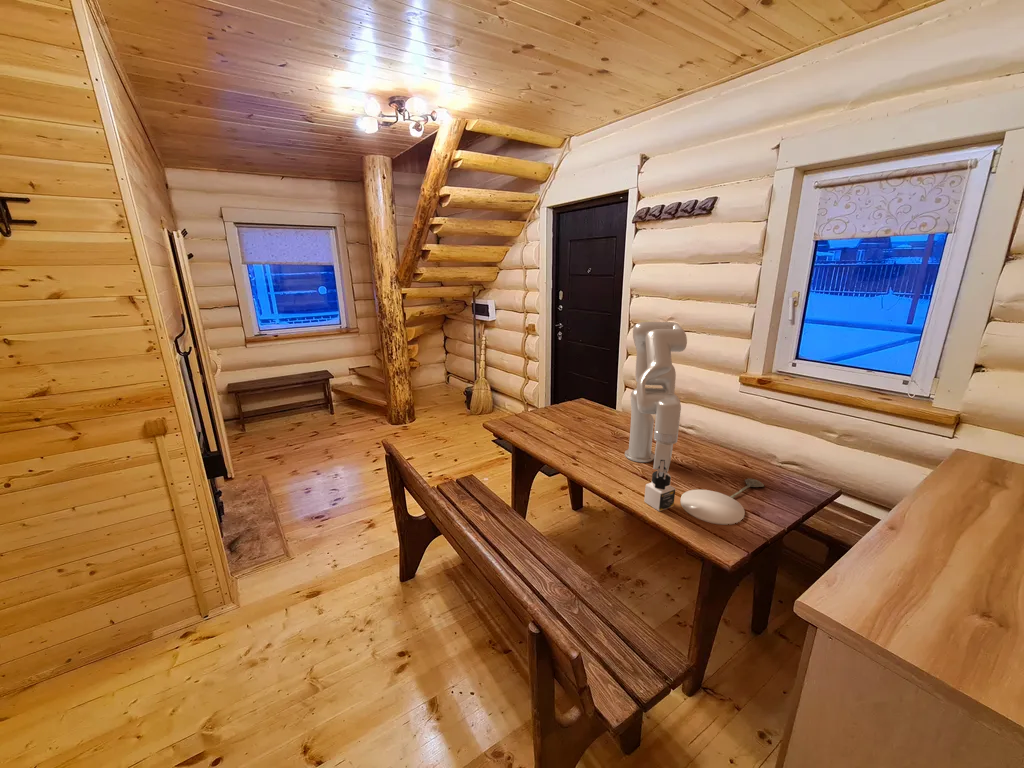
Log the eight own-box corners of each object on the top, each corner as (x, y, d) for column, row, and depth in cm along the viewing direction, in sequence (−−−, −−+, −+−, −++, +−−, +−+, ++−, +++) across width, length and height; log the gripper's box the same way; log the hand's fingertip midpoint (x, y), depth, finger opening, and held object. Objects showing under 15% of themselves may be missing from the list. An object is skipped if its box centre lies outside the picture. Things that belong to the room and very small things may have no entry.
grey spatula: (767, 488, 155) (749, 482, 160) (768, 480, 154) (750, 474, 159) (738, 504, 142) (719, 497, 148) (739, 495, 142) (720, 488, 147)
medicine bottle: (659, 511, 138) (662, 480, 135) (643, 501, 144) (646, 471, 141) (673, 506, 141) (677, 475, 138) (658, 496, 147) (661, 467, 144)
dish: (681, 488, 153) (681, 485, 153) (741, 499, 145) (741, 496, 145) (679, 516, 135) (679, 513, 135) (747, 530, 128) (748, 527, 127)
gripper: (656, 425, 145) (651, 469, 149) (651, 443, 129) (646, 492, 134) (678, 428, 142) (673, 473, 146) (676, 447, 126) (671, 496, 131)
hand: (660, 482), depth 140 cm, fingers open, 8 cm apart
